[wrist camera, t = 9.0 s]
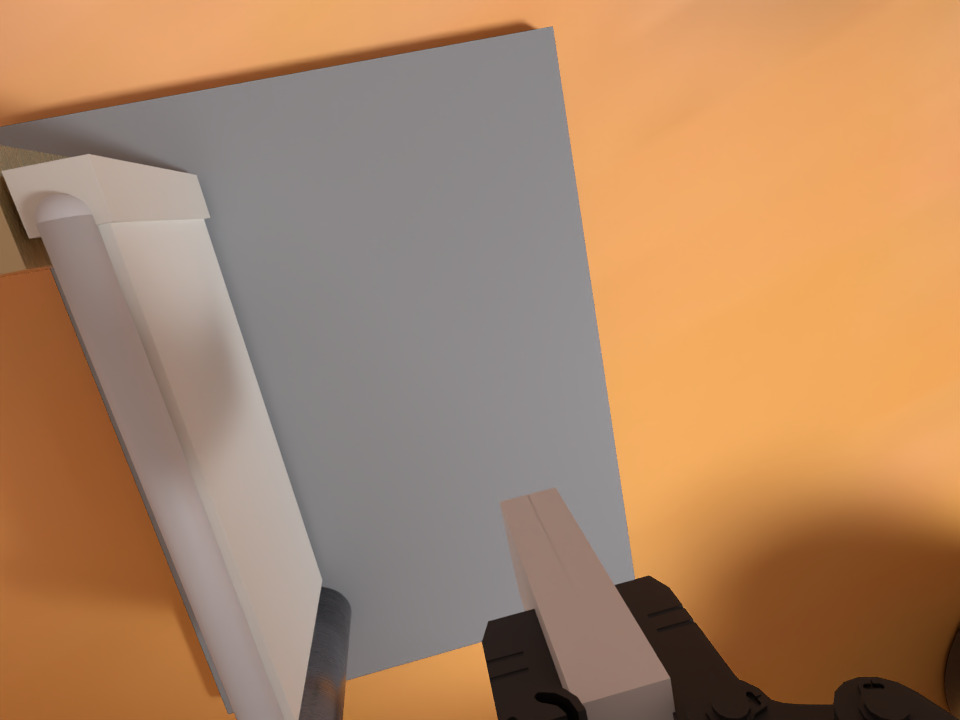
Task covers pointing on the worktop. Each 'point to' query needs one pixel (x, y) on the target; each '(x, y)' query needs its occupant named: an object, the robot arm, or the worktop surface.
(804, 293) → the worktop surface
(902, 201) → the worktop surface
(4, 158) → the post
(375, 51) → the worktop surface
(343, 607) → the hinge post
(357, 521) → the board
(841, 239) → the worktop surface
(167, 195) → the rod
